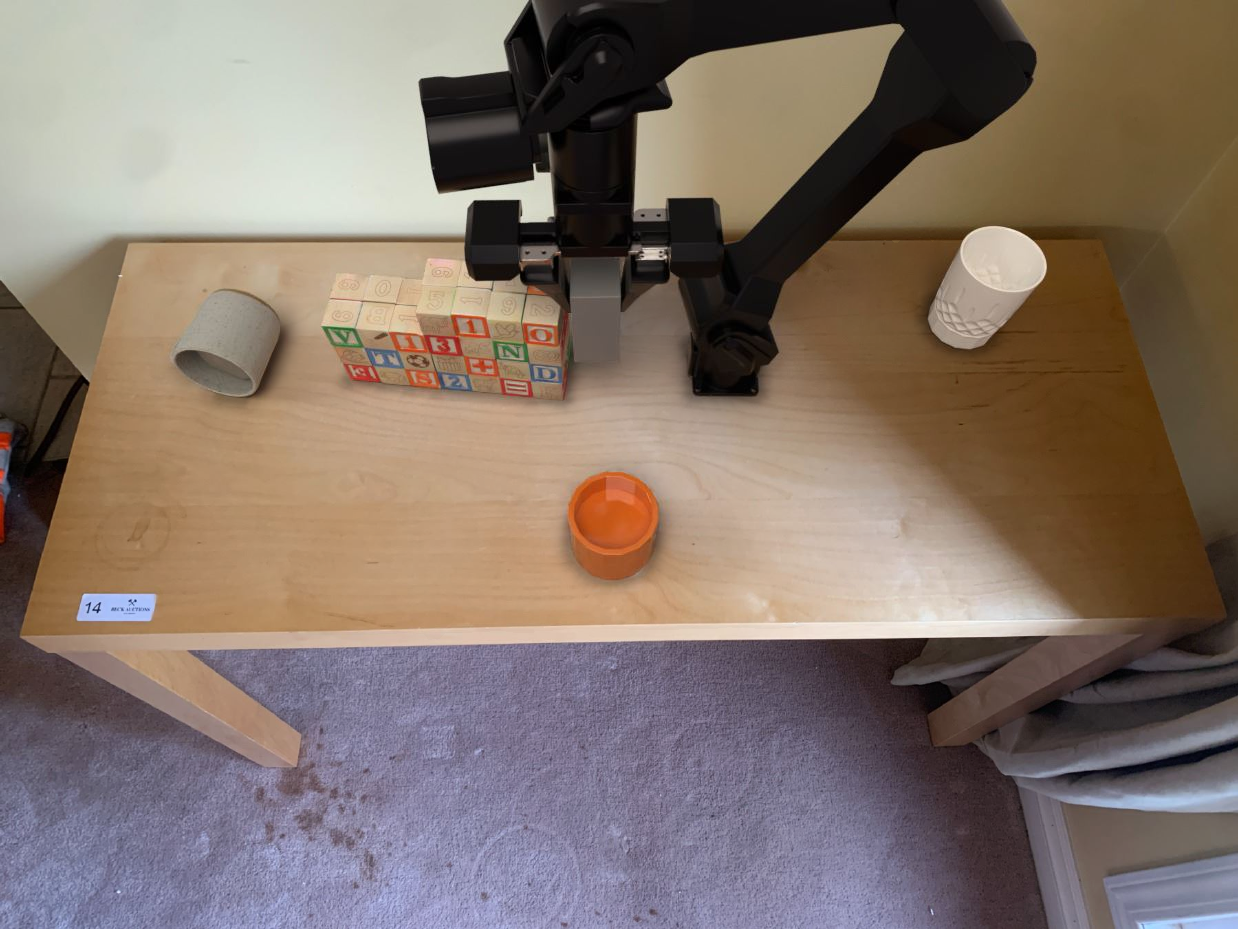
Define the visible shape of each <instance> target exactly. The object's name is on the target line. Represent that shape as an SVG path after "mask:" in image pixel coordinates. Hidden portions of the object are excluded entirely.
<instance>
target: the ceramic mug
mask: <svg viewBox="0 0 1238 929" xmlns="http://www.w3.org/2000/svg"><path fill="white" fill-rule="evenodd" d="M281 327H282V326H281V320H280V317H279V316H278V313H276V311H275V310H274V309H273V308H272V306H271V305H270V304H268V303H267V302H266V301H265V300H263V299H262V298H260V297H258V296H257V295H254V294H252V293H250V292H248V291H245V290H240V289H236V288H219V289H217V290H214V291H213V292H211V293H210V294H209V295H208V296H207V297H206V298H205V299H204V301H203V302H202V303H201V304H200V306H199V307H198V309H197V311H196V313H195V315H194V316H193V319H192V320H191V321H190V323H189V325H188V327H187V328H186V329H185V331H184V332H183V333H182V335H180V336H179V338H178V340H177V341H176V343H175V344H174V345H173V347H172V349H171V353H170V355H169V360H170V363H171V364H172V365H173V367H175V369H176V370H177V371H179V373H180V374H181V375H182V376H184V377H185V378H186V379H188V380H189V381H191V382H192V383H194V384H196V385H197V386H199V387H201V388H204V389H205V390H209V391H210V392H214V393H216V394H220V395H224V396H228V397H234V398H238V397H239V398H244V397H249V396H251V395H253V394H255V393H256V391H257V390H258V388H259V386H260V383H261V380H262V378H263V375H264V373H265V371H266V369H267V367H268V364H269V362H270V359H271V356H272V354H273V352H274V350H275V348H276V345H277V343H278V341H279V338H280V332H281Z"/></svg>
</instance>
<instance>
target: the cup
mask: <svg viewBox="0 0 1238 929" xmlns="http://www.w3.org/2000/svg"><path fill="white" fill-rule="evenodd" d="M567 512H568V513H567V522H568V531H569V534H570V543H571V544H570V545H571V549H572V552H573V556H574V557H575V559H576V562H577V563H578V565H580V566H581V568H582V569H584V570H585V571H586V572H588V573H589V574H590V575H592V576H594V577H597V578H600V579H603V580H608V581H609V580H610V581H611V580H612V581H614V580H615V581H616V580H622V579H623V580H624V579H627V578H629V577H631V576H634V575H636V574H637V573H638V572H640V571H641V570H642V569H643V568H644V567H645V566H646V564H647V563H648V562H649V560H650V559H651V557H652V554H653V551H654V547H655V546H654V545H655V540H656V534H657V531H658V526H659V503H658V502H657V499H656V497H655V494H654V493H653V491H652V489H651V488H650V487H649V486H648V485H647V484H646V483H644V482H643V481H642V480H641V478H639V477H637V476H634V475H631V474H629V473H626V472H623V471H603V472H601V473H598V474H594V475H593V476H589V477H588V478H586V479H585V480H584V481H583V482H582V483H581V484H580V485H578V486H577V487H576V488H575V490H574V492H573V494H572V496H571V497H570V500H569V502H568V508H567Z"/></svg>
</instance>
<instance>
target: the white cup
mask: <svg viewBox="0 0 1238 929" xmlns="http://www.w3.org/2000/svg"><path fill="white" fill-rule="evenodd" d="M1047 265H1048V264H1047V260H1046V256H1045V254H1044V252H1043V250H1042V249H1041V247H1040V246H1039V245H1038V244H1037V243H1036V242H1035V241H1034V240H1033V239H1031V238H1030V237H1029V236H1027V235H1026V234H1024V233H1022V232H1020V231H1018V230H1016V229H1013V228H1009V227H1005V226H1001V225H1000V226H999V225H989V226H983V227H979V228H976V229H974V230H973V231H970V232H969V233H968V234H967V235H966V236H965V237H964V238H963V240H962V242H961V244H960V246H959V248H958V250H957V252H956V254H955V256H954V258H953V260H952V262H951V263H950V265H949V267H948V269H947V271H946V273H945V275H944V278H943V280H942V282H941V284H940V285H939V287H938V290H937V292H936V295H935V297H934V299H933V302H932V303H931V305H930V307H929V311H928V315H927V322H928V324H929V327H930V330H931V332H932V333H933V334H934V336H936V337H937V338H938V339H939V340H940V342H942V343H944V344H946V345H948V346H950V347H953V348H955V349H963V350H972V349H976V348H980V347H983V346H985V345H986V343H987V342H988V341H990V340H991V338H993V336H994V335H995V333H997V331H998V330H999V329H1001V328H1002V327H1003V326H1004V325H1005V324H1006V323H1007V321H1009V320H1010V318H1011V317H1012V316H1013V315H1014V314H1015V313H1016V312H1017V311H1018V310H1019V309H1020V307H1021V306H1022V305H1023V304H1024V303H1025V302H1026V300H1027V299H1028V298H1029V297H1030V295H1031V294H1032V293H1033V292H1034V291H1035V290H1036V289H1037V287H1038V286H1039V285H1040V284H1041V283H1042V282H1043V280H1044V278H1045V276H1046V274H1047V271H1048V270H1047V269H1048V267H1047Z"/></svg>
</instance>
